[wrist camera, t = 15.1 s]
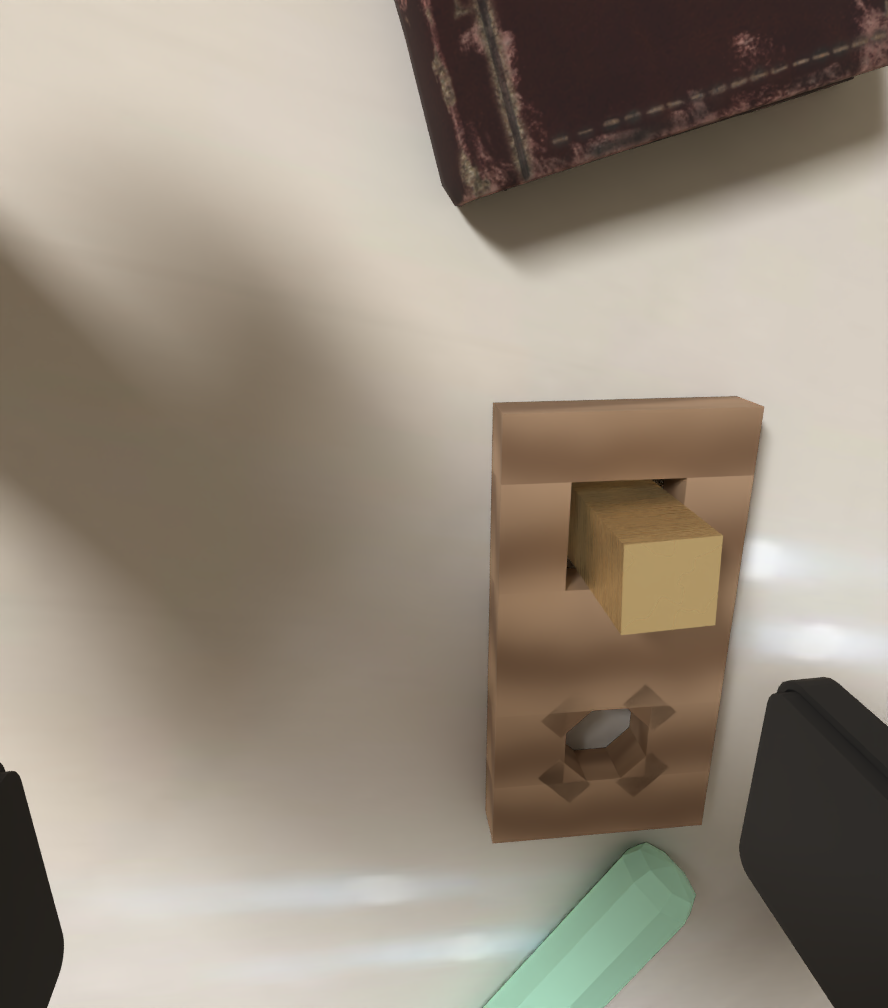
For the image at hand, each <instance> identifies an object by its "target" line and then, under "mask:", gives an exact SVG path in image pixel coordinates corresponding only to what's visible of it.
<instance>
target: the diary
mask: <svg viewBox="0 0 888 1008" xmlns="http://www.w3.org/2000/svg"><path fill="white" fill-rule="evenodd" d="M394 1H395V5H396V8H397V11H398V15H399V18H400V22H401V25H402V29H403V32H404V35H405V39H406V43H407V47H408V51H409V55H410V59H411V63H412V67H413V71H414V75H415V79H416V83H417V87H418V91H419V95H420V99H421V103H422V107H423V111H424V115H425V119H426V123H427V127H428V131H429V135H430V139H431V143H432V147H433V151H434V155H435V159H436V163H437V167H438V171H439V175H440V179H441V183H442V186H443V187H444V189H445V191H446V192H447V194H448V195H449V197H450V199H451V200H452V202H453V203H454V205H455V206H463V205H464V204H466V203H468V202H470V201H473V200H475V199H478V198H481V197H484V196H487V195H491V194H494V193H497V192H500V191H503V190H507V189H509V188H512V187H515V186H518V185H521V184H525V183H528V182H531V181H534V180H537V179H540V178H543V177H546V176H549V175H552V174H555V173H558V172H561V171H564V170H567V169H571V168H574V167H577V166H580V165H583V164H586V163H589V162H592V161H595V160H598V159H601V158H604V157H607V156H610V155H614V154H617V153H620V152H623V151H626V150H630V149H633V148H636V147H639V146H643V145H646V144H649V143H652V142H655V141H659V140H662V139H665V138H668V137H671V136H674V135H678V134H681V133H684V132H687V131H690V130H694V129H697V128H700V127H703V126H706V125H710V124H713V123H716V122H719V121H722V120H725V119H729V118H732V117H735V116H738V115H742V114H746V113H749V112H753V111H756V110H760V109H763V108H766V107H769V106H772V105H775V104H778V103H781V102H784V101H787V100H790V99H794V98H797V97H800V96H803V95H806V94H809V93H812V92H815V91H818V90H821V89H824V88H827V87H830V86H833V85H836V84H839V83H842V82H845V81H848V80H851V79H853V78H854V76H857V75H860V74H863V73H866V72H869V71H872V70H875V69H878V68H881V67H884V66H888V0H394Z"/></svg>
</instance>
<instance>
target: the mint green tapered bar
mask: <svg viewBox="0 0 888 1008" xmlns="http://www.w3.org/2000/svg"><path fill="white" fill-rule="evenodd" d="M695 896H696V894H695V892H694V890H693V888H692V886H691V885H690V883H689V881H688V879H687V877H686V875H685V873H684V872H683V871H682V870H681V869H680V868H679V867H678V866H677V865H676V864H675V863H674V862H673V861H672V860H671V859H670V858H669V857H668V856H667V855H666V853H665V852H663V851H661V850H659V849H658V848H656V847H654V846H652V845H650V844H648V843H647V842H646V843H643V844H640V845H637V846H635V847H633V848H630V849H628V850H627V851H626V852H625V854H624V855H623V856H622V857H621V858H620V859H619V860H618V861H617V862H616V863H615V864H614V865H613V867H612V868H611V869H610V870H609V871H608V872H607V873H606V874H605V875H604V876H603V877H602V879H601V880H600V881H599V882H598V883H597V884H596V885H595V886H594V887H593V888H592V889H591V890H590V892H589V893H588V894H587V895H586V896H585V897H584V898H583V899H582V900H581V901H580V902H579V904H578V905H577V906H576V907H575V908H574V909H573V910H572V911H571V912H570V913H569V914H568V916H567V917H566V918H565V919H564V920H563V921H562V922H561V923H560V924H559V925H558V926H557V928H556V929H555V930H554V931H553V932H552V933H551V934H550V935H549V936H548V937H547V938H546V940H545V941H544V942H543V943H542V944H541V945H540V946H539V947H538V948H537V949H536V950H535V951H534V953H533V954H532V955H531V956H530V957H529V958H528V959H527V960H526V961H525V962H524V963H523V965H522V966H521V967H520V968H519V969H518V970H517V971H516V972H515V973H514V974H513V975H512V977H511V978H510V979H509V980H508V981H507V982H506V983H505V984H504V985H503V986H502V987H501V989H500V990H499V991H498V992H497V993H496V994H495V995H494V996H493V997H492V998H491V999H490V1000H489V1002H488V1003H487V1004H486V1005H485V1006H484V1007H483V1008H604V1007H605V1006H606V1005H607V1004H608V1003H609V1002H610V1001H611V1000H612V999H613V997H614V996H615V995H616V994H617V993H618V992H619V991H620V990H621V989H622V988H623V987H624V986H625V985H626V984H627V983H628V982H629V981H630V980H631V979H632V978H633V977H634V976H635V975H636V974H637V973H638V972H639V971H640V970H641V969H642V968H643V967H644V966H645V964H646V963H647V962H648V961H649V960H650V959H651V958H652V957H653V956H654V955H655V954H656V953H657V952H658V951H659V950H660V949H661V948H662V947H663V946H664V945H665V944H666V943H667V942H668V941H669V940H670V939H671V938H672V937H673V936H674V935H675V934H676V933H677V931H678V930H679V929H680V928H681V927H682V926H683V925H684V924H685V922H686V920H687V918H688V916H689V915H690V913H691V909H692V906H693V902H694V899H695Z"/></svg>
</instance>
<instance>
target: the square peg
mask: <svg viewBox="0 0 888 1008" xmlns="http://www.w3.org/2000/svg"><path fill="white" fill-rule="evenodd" d="M722 542H723V535H722V534H720V533H719V532H718V531H717V530H715V529H714V528H713V527H711V526H710V525H709V524H708V523H706V522H705V521H704V520H702V519H701V518H700V517H699V516H697V515H696V514H695V513H694V512H692V511H691V510H690V509H688V508H687V507H686V506H685V505H683V504H682V503H681V502H679V501H678V500H677V499H676V498H674V497H673V496H672V495H670V494H669V493H668V492H667V491H665V490H664V489H663V488H661V487H660V486H659V485H658V484H656V483H655V482H654V481H652V480H651V479H646V480H619V481H593V482H572V484H571V501H570V518H569V535H568V552H567V556H568V558H569V559H570V561H571V562H572V564H573V565H574V567H575V568H576V570H577V571H578V573H579V574H580V576H581V577H582V579H583V580H584V582H585V583H586V584H587V586H588V587H589V589H590V590H591V592H592V593H593V595H594V596H595V598H596V599H597V601H598V602H599V604H600V605H601V607H602V608H603V610H604V611H605V613H606V614H607V615H608V617H609V618H610V620H611V621H612V623H613V624H614V626H615V627H616V629H617V630H618V632H619V633H620V635H628V634H637V633H647V632H656V631H665V630H675V629H684V628H694V627H703V626H712V625H715V622H716V611H717V599H718V588H719V576H720V565H721V553H722Z"/></svg>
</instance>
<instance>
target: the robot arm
mask: <svg viewBox="0 0 888 1008" xmlns="http://www.w3.org/2000/svg"><path fill="white" fill-rule="evenodd" d="M739 851H740V858H741V862H742V865H743V868H744V870H745V872H746V874H747V876H748V877H749V879H750V880H751V882H752V884H753V885H754V887H755V888H756V890H757V891H758V893H759V894H760V896H761V897H762V899H763V900H764V902H765V903H766V905H767V906H768V908H769V909H770V911H771V912H772V914H773V915H774V917H775V918H776V920H777V921H778V923H779V924H780V926H781V928H782V929H783V931H784V932H785V934H786V935H787V937H788V938H789V940H790V941H791V943H792V944H793V946H794V947H795V949H796V950H797V952H798V953H799V955H800V956H801V958H802V959H803V961H804V962H805V964H806V965H807V967H808V968H809V970H810V972H811V973H812V975H813V976H814V978H815V979H816V981H817V982H818V984H819V985H820V987H821V988H822V990H823V991H824V993H825V994H826V996H827V997H828V999H829V1000H830V1002H831V1003H832V1005H833V1006H834V1008H888V726H887V725H886V724H884V723H883V722H882V721H881V720H880V719H879V718H878V717H876V716H875V715H874V714H873V713H872V712H871V711H870V710H868V709H867V708H866V707H865V706H864V705H863V704H862V703H860V702H859V701H858V700H857V699H856V698H855V697H853V696H852V695H851V694H850V693H849V692H848V691H847V690H845V689H844V688H843V687H842V686H841V685H840V684H839V683H837V682H836V681H834V680H833V679H831V678H826V677H820V678H810V679H800V680H790V681H786V682H783V683H782V684H781V685H780V686H779V688H778V690H777V693H775V694H772V695H771V696H770V697H769V700H768V703H767V707H766V712H765V717H764V722H763V727H762V732H761V737H760V742H759V748H758V753H757V758H756V763H755V768H754V773H753V778H752V783H751V788H750V793H749V798H748V803H747V808H746V813H745V818H744V823H743V829H742V834H741V839H740V845H739ZM63 953H64V939H63V933H62V930H61V926H60V922H59V918H58V915H57V911H56V907H55V904H54V900H53V896H52V893H51V889H50V885H49V881H48V878H47V874H46V870H45V867H44V863H43V859H42V855H41V852H40V848H39V844H38V841H37V837H36V833H35V829H34V826H33V822H32V818H31V815H30V811H29V807H28V803H27V800H26V796H25V792H24V789H23V785H22V781H21V779H20V776H19V774H18V773H17V772H15V771H8V772H5V769H4V767H3V765H2V764H1V763H0V1008H47V1006H48V1004H49V1001H50V998H51V995H52V993H53V990H54V987H55V984H56V982H57V979H58V976H59V973H60V970H61V966H62V961H63Z"/></svg>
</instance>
